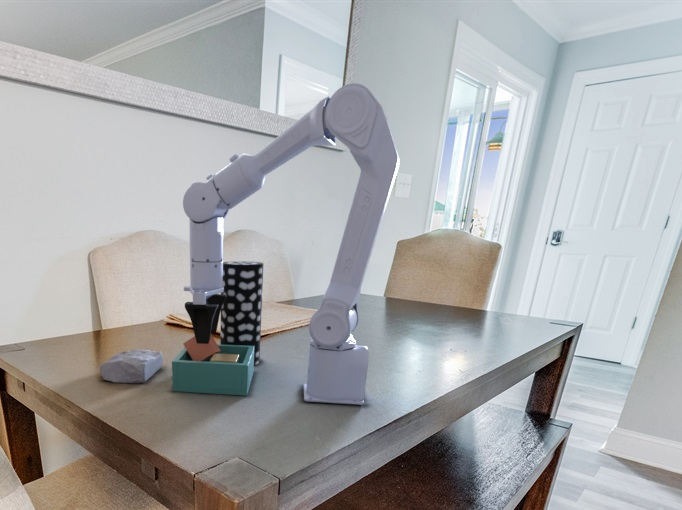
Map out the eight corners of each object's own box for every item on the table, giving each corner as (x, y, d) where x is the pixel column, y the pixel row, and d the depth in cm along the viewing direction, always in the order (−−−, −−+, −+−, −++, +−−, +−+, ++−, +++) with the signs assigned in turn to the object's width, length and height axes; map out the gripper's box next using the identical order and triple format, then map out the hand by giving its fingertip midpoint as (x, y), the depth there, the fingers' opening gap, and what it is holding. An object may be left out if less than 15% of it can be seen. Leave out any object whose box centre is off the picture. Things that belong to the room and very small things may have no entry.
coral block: (221, 351, 87) (209, 330, 87) (215, 352, 83) (202, 330, 83) (201, 363, 88) (189, 342, 88) (195, 364, 84) (182, 343, 84)
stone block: (98, 390, 85) (148, 383, 83) (91, 365, 84) (142, 357, 81) (123, 373, 96) (167, 366, 94) (117, 350, 95) (162, 343, 92)
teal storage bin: (253, 372, 90) (254, 345, 88) (247, 395, 78) (248, 365, 76) (188, 369, 92) (188, 342, 90) (172, 391, 80) (171, 361, 78)
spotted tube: (266, 359, 99) (270, 262, 91) (247, 369, 92) (250, 265, 85) (232, 353, 103) (234, 260, 96) (212, 362, 96) (212, 263, 89)
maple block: (238, 378, 84) (239, 354, 83) (235, 386, 80) (236, 361, 79) (214, 376, 85) (214, 353, 83) (210, 384, 81) (210, 360, 79)
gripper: (192, 257, 87) (193, 328, 92) (173, 264, 73) (176, 347, 78) (229, 258, 86) (228, 330, 91) (217, 264, 72) (216, 348, 77)
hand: (206, 338), depth 84 cm, fingers open, 7 cm apart
